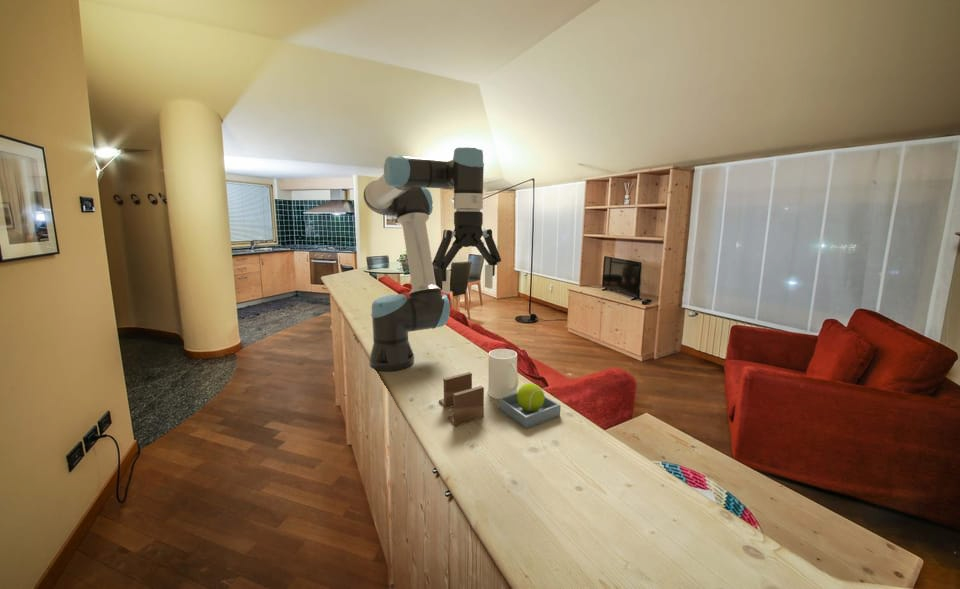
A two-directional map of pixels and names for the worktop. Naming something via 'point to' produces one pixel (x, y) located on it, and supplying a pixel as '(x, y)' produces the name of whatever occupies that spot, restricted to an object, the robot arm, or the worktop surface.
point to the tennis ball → (530, 397)
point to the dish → (525, 417)
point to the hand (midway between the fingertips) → (468, 290)
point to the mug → (502, 373)
